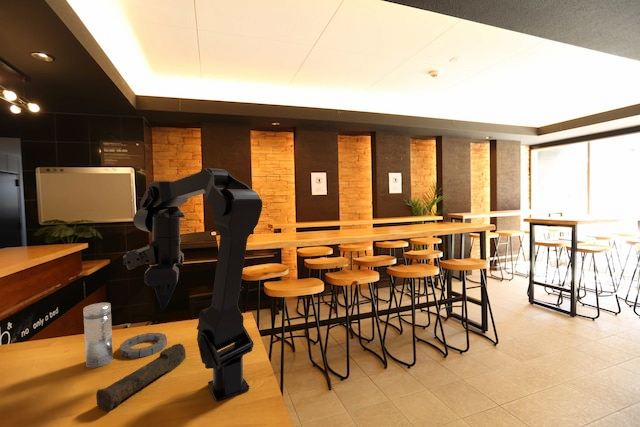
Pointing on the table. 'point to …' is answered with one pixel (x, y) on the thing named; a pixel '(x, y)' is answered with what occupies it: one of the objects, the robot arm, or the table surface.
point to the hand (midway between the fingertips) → (166, 300)
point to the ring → (145, 351)
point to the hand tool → (140, 377)
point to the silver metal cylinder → (98, 334)
